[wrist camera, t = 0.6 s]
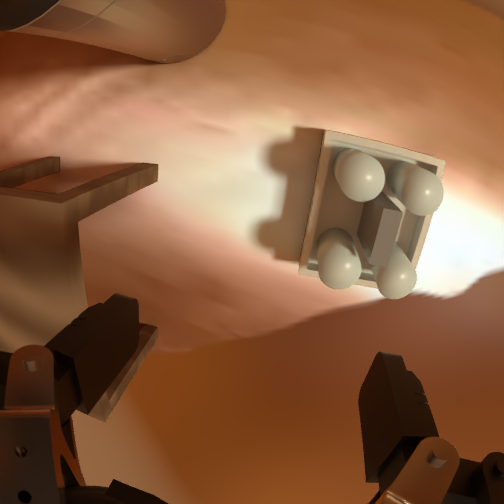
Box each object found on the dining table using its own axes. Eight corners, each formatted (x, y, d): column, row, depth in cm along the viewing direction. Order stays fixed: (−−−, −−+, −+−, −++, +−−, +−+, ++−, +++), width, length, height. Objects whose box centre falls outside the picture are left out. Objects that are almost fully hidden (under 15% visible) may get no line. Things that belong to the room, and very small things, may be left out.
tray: (324, 129, 24) (330, 132, 18) (434, 157, 24) (470, 170, 17) (299, 261, 29) (296, 302, 23) (399, 280, 28) (419, 322, 22)
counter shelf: (50, 156, 29) (-47, 187, 17) (158, 164, 28) (61, 203, 16) (66, 308, 37) (4, 370, 25) (157, 337, 36) (105, 422, 24)
